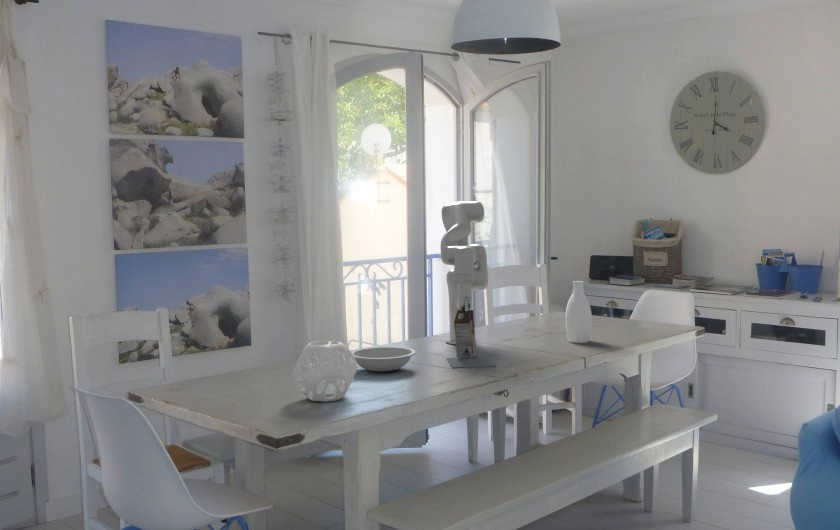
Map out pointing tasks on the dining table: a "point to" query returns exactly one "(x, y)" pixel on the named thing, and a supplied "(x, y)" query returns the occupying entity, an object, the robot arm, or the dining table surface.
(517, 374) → the dining table surface
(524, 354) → the dining table surface
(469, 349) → the coffee box
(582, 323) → the bottle
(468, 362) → the slate mat
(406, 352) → the soup bowl
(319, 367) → the decorative ball
